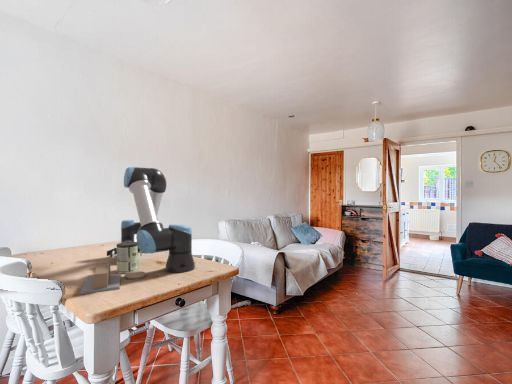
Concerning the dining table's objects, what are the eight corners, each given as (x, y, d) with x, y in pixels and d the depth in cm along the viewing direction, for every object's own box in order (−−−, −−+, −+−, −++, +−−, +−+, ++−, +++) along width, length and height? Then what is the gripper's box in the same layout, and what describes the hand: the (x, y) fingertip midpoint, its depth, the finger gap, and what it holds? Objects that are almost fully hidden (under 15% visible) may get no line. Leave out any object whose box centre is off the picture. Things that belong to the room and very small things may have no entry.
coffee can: (122, 267, 144) (122, 241, 144) (141, 267, 145) (141, 241, 145) (112, 273, 134) (112, 245, 134) (133, 273, 134) (133, 245, 135)
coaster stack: (149, 275, 133) (149, 271, 133) (138, 281, 124) (138, 277, 124) (132, 274, 134) (132, 270, 134) (120, 280, 125) (120, 276, 125)
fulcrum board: (119, 288, 113) (119, 272, 113) (80, 294, 107) (79, 276, 107) (120, 275, 131) (120, 261, 131) (87, 279, 125) (87, 264, 125)
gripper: (149, 251, 168) (152, 259, 149) (104, 255, 158) (100, 264, 139) (149, 239, 168) (151, 245, 149) (104, 242, 158) (100, 249, 139)
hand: (127, 254), depth 144 cm, fingers open, 13 cm apart
